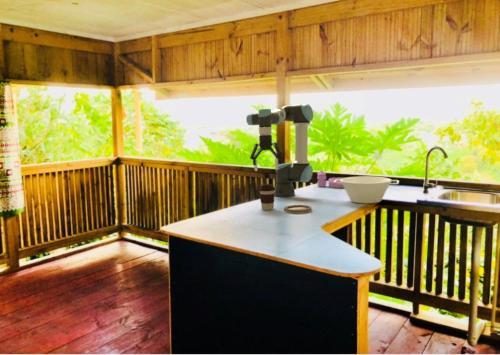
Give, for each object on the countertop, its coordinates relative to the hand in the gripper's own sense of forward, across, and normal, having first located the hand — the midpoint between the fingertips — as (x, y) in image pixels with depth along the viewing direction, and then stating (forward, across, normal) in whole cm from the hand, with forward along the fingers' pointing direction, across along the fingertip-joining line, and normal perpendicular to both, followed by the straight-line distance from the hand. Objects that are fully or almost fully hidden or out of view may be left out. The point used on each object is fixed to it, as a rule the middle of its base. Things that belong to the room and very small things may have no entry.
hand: (266, 169), depth 243 cm
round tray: (+24, +14, -13) cm, 31 cm away
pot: (+24, +65, -10) cm, 70 cm away
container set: (+24, +80, +53) cm, 99 cm away
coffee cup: (+24, 0, 0) cm, 24 cm away
